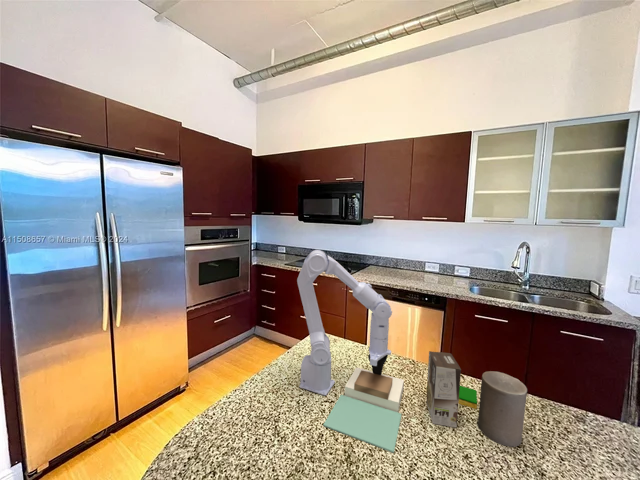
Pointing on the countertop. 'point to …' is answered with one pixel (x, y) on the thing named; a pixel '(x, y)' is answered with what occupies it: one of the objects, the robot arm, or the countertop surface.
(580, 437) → the countertop surface
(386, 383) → the walnut coaster
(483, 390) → the pillar candle
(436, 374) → the coffee box
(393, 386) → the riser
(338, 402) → the sage mat
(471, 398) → the dish sponge
